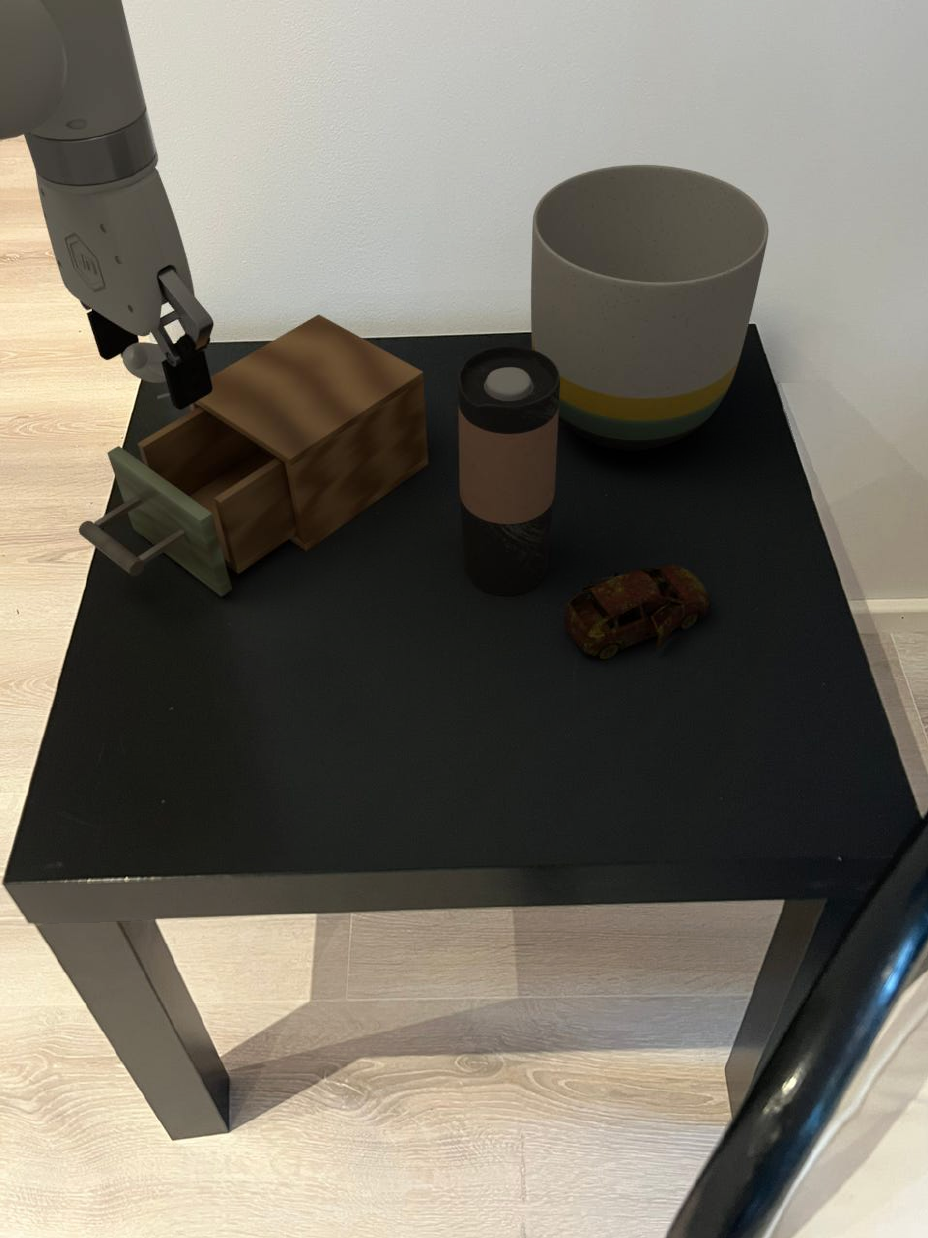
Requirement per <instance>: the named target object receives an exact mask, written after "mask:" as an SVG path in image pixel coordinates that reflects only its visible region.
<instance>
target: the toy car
mask: <svg viewBox="0 0 928 1238" xmlns="http://www.w3.org/2000/svg"><path fill="white" fill-rule="evenodd" d="M624 572H627V573H624ZM619 573H622V574H620V575H618V574H619ZM605 579H607V580H605ZM600 580H605V581H602V582H600V583H597V584H592V583H593V582H595V581H600ZM587 595H590V597H587ZM709 605H710V599H709V594H708V592H707V590H706V588H705V586H704V584H703V583H702V582H701V581H700V579H699V578H698V577H697V576H696V575H695V574H694V573H693V572H691V571H690V570H688V569H686V568H685V567H682V566H680V565H675V564H671V565H670V564H668V565H664V566H658V567H655V568H636V569H633V570H632V569H628V570H623V571H617V572H614V575H613V577H612V576H608V577H603V578H598V579H594V580H590V581H589V583H588V584H587V585H584V586H582V588H581V592H580V593H578V594H576V595H575V596H574V597H572V598H571V599H570V600H569V601H568V602H567V603H566V607H565V608H566V611H565V613H564V614H563V615H564V626H565V628H566V630H567V631H568V633H569V635H570V636H571V638H572V639H573V640H574V642H575V644H576V645H577V646H578V647H579V649H580V650H581V651H582V652H583V653H585V654H586V655H589V656H593V657H596V656H597V655H598V656H599V658H600V659H601V660H608V659H610V658H612V657H613V656H615V655H616V653H618V650H619V651H620V650H621V651H622V650H624V649H625V648H628V647H631V646H634V645H636V644H639V643H640V642H645V641H646V640H649V639H652V638H655V637H657V640H656V643H655V644H656V645H655V649H654V652H656V651H657V650H658V649H659V648H660V647H661V646H662V644H663V643H664V642H665V641H666V640H667V638H668V637H669V636H670V635H671V634H672V632H674V630H675V629H678V628H679V627H681V629H683V630H686V629H689V628H691V627H692V626H693V625H694V624H695V623H696V621H697V620H698V619H704V617H705V616H706V615H707V611H708V609H709Z"/></svg>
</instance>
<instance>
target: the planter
mask: <svg viewBox="0 0 928 1238" xmlns="http://www.w3.org/2000/svg"><path fill="white" fill-rule="evenodd" d="M768 238H769V223H768V219H767V217H766V214H765V213H764V211H763V210H762V208H761V207H760V205H759V204H758V203H757V202H756V201H755V200H754V199H753V198H752V197H751V196H750V195H748V194H747V193H746V192H744V191H743V190H741V189H740V188H738V187H736V186H735V185H733V184H731V183H729V182H727V181H725V180H722V179H720V178H719V177H715V176H712V175H709V174H706V173H703V172H700V171H695V170H691V169H687V168H681V167H675V166H668V165H659V164H658V165H657V164H627V165H625V164H624V165H615V166H608V167H603V168H597V169H593V170H588V171H586V172H582V173H579V174H577V175H574V176H571V177H569V178H567V179H565V180H563V181H561V182H559V183H558V184H556V185H554V186H553V187H552V188H550V189H549V190H548V191H547V192H546V193H545V194H544V195H543V196H542V197H541V198H540V200H539V201H538V203H537V204H536V206H535V209H534V211H533V216H532V230H531V270H530V275H531V276H530V328H531V329H530V331H531V332H530V333H531V349H532V350H535V351H538V352H540V353H542V354H544V355H545V356H547V357H548V358H549V359H551V360H552V361H553V362H554V364H555V365H556V367H557V369H558V371H559V375H560V393H559V413H558V421H560V422H561V423H562V425H564V426H566V428H568V429H569V430H571V431H572V432H573V433H574V434H576V435H578V436H579V437H580V438H583V439H584V440H587V441H589V442H591V443H593V444H596V445H599V446H601V447H604V448H608V449H615V450H619V451H644V450H652V449H656V448H660V447H664V446H668V445H670V444H672V443H675V442H677V441H679V440H681V439H683V438H686V437H687V436H688V435H690V434H691V433H694V432H695V431H696V430H697V429H699V428H700V427H701V426H702V425H703V424H705V423H706V421H708V420H709V419H710V418H711V417H712V415H713V414H714V412H715V411H716V410H717V409H718V407H719V406H720V404H721V403H722V401H723V399H724V397H725V396H726V394H727V393H728V390H729V388H730V386H731V384H732V382H733V379H734V378H735V377H734V376H735V374H736V371H737V368H738V365H739V361H740V358H741V355H742V352H743V351H742V350H743V348H744V343H745V340H746V337H747V332H748V328H749V324H750V320H751V317H752V312H753V308H754V303H755V299H756V295H757V290H758V286H759V281H760V276H761V272H762V267H763V263H764V258H765V255H766V249H767V244H768V240H769V239H768Z"/></svg>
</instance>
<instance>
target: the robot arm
mask: <svg viewBox="0 0 928 1238" xmlns="http://www.w3.org/2000/svg"><path fill="white" fill-rule="evenodd" d="M132 43H133V42H132V39H131V35H130V30H129V26H128V22H127V18H126V14H125V9H124V4H123V0H0V141H3V140H9V139H14V138H19V137H21V136H24V138H25V142H26V145H27V148H28V152H29V155H30V157H31V158H30V159H31V161H32V164H33V167H34V170H35V176H36V177H35V178H36V184H37V190H38V194H39V201H40V204H41V209H42V212H43V218H44V222H45V225H46V228H47V232H48V236H49V237H48V238H49V240H50V243H51V246H52V251H53V254H54V258H55V261H56V264H57V268H58V271H59V274H60V277H61V281H62V283H63V285H64V287H65V288H66V290H67V291H68V292H69V293H70V294H71V295H72V296H73V297H74V298H75V299H77V300H78V301H79V303H80V305H81V306H82V308H83V309H85V310H86V311H88V312H86V317H87V319H88V323H89V326H90V329H91V332H92V335H93V338H94V341H95V344H96V348H97V351H98V354H99V357H101V358H102V359H103V360H104V361H110V360H112V359H115V358H116V357H118V356H121V353H124V351H125V349H126V348H127V347H128V346H130V345H132V344H135V343H139V342H140V339H139V337H147V336H149V335H150V333H151V335H152V337H153V338H154V340H155V342H156V344H157V345H159V347H160V349H161V350H162V352H163V354H164V356H165V357H166V360H164V361H163V362H161V363H162V367H163V370H164V374H165V378H166V381H165V382H166V385H167V389H168V393H170V396H169V397H170V400H171V404H172V406H173V407H174V408H176V409H177V410H179V411H182V410H183V409H186V408H188V407H190V406H189V405H191V404H193V403H194V402H196V401H198V400H200V399H201V398H203V397H205V396H206V395H208V394H210V393H211V392H212V389H213V387H212V382H211V378H210V377H211V374H210V370H209V366H208V362H207V357H206V353H205V351H206V350H207V349H208V345H209V344H210V342H211V334H212V331H213V328H214V326H215V325H214V324H215V323H214V320H213V317H212V316H211V315H210V314H209V312H208V311H207V310H206V308H205V307H204V306H203V304H201V302H200V301H199V300H198V298H196V294H195V289H194V288H195V287H194V283H193V277H192V272H191V268H190V263H189V260H188V257H187V253H186V250H185V246H184V243H183V239H182V236H181V232H180V229H179V226H178V223H177V219H176V217H175V213H174V210H173V207H172V205H171V202H170V199H169V196H168V194H167V191H166V188H165V185H164V182H163V180H162V177H161V175H160V172H159V170H158V169H157V168H156V167H157V166H158V162H159V154H158V150H157V147H156V143H155V138H154V133H153V130H152V125H151V120H150V117H149V113H148V108H147V103H146V100H145V94H144V90H143V86H142V81H141V77H140V72H139V69H138V65H137V59H136V57H135V56H136V55H135V53H134V48H133V44H132ZM167 303H168V304H169V306H170V307H171V308H172V309H173V310H171V311H170V312H168V313H167V314H164V315H162V309H163V307H162V306H164V305H165V304H167ZM175 321H178V323H179V325H180V326H181V329H182V330H183V332H184V334H183V335H181V336H179V338H178V339H177V340H176V341H175V343H174V341H173V339H172V338H171V336H170V334H169V333H168V331H167V330H166V328H165V327H166V326H168V325H170V324H172V323H174V322H175Z"/></svg>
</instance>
